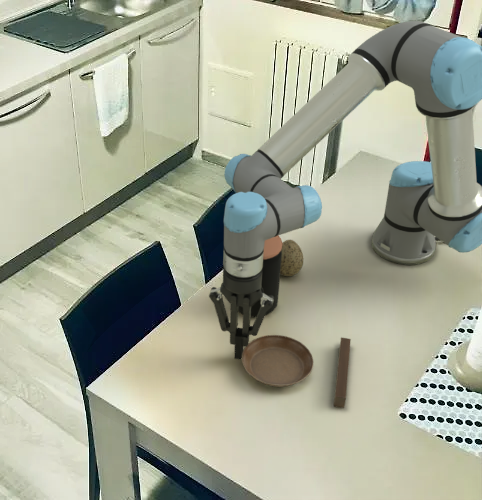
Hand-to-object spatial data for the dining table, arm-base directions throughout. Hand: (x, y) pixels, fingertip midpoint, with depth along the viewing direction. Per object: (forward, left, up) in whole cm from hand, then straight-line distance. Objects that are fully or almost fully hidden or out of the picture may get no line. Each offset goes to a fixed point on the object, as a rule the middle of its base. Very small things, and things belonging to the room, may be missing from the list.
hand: (238, 354), depth 153 cm
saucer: (-8, 0, -2) cm, 8 cm away
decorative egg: (-6, -32, -2) cm, 33 cm away
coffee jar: (0, -19, -2) cm, 19 cm away
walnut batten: (-21, 0, -2) cm, 21 cm away
